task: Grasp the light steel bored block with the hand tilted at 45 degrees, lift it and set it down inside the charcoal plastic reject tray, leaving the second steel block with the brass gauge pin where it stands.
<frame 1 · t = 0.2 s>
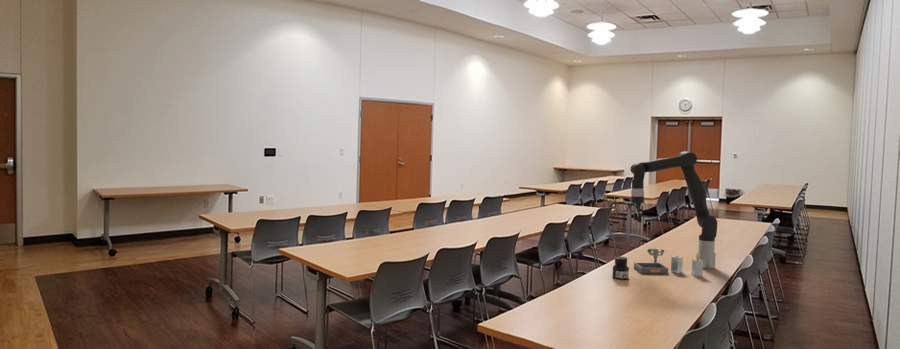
hand: (637, 221, 356), 29 cm above the table, tool pointing down, fingers open, 8 cm apart
reject tray: (650, 271, 346), on the table
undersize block: (676, 272, 344), on the table
mechanical component: (655, 265, 363), on the table
ink bottle: (620, 278, 328), on the table
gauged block: (697, 275, 336), on the table
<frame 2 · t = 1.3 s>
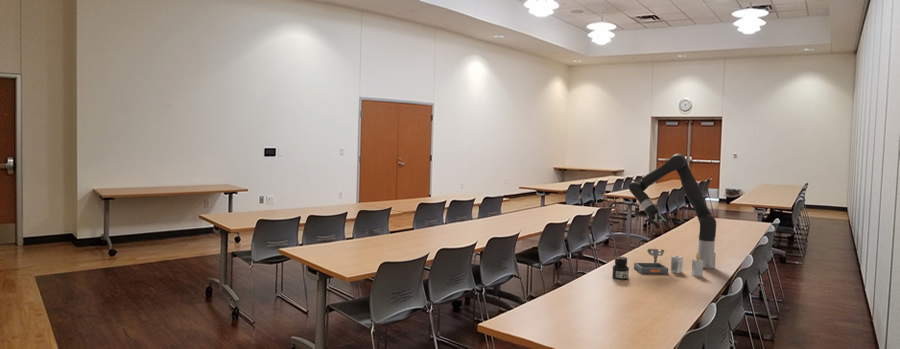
hand: (663, 227, 357), 25 cm above the table, tool tilted 45°, fingers open, 8 cm apart
nothing on the table moved.
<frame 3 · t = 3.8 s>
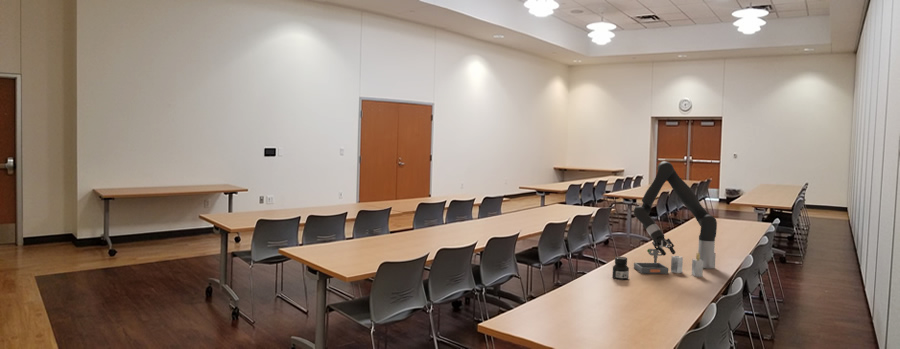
hand: (669, 254, 348), 10 cm above the table, tool tilted 45°, fingers open, 8 cm apart
nothing on the table moved.
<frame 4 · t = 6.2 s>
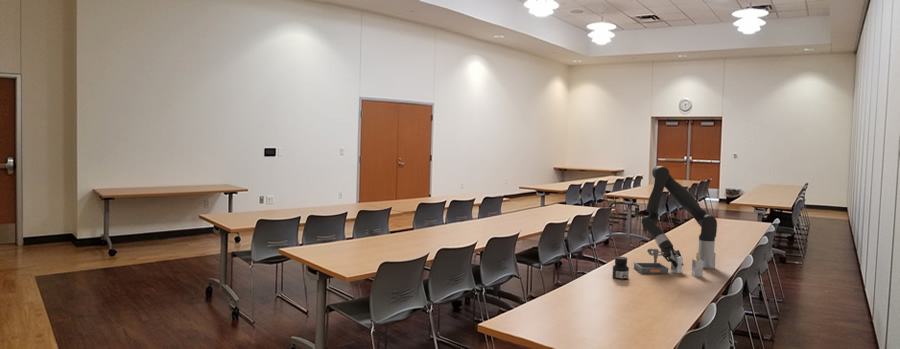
hand: (679, 266, 342), 4 cm above the table, tool tilted 45°, fingers closed on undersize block, 4 cm apart
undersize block: (676, 272, 344), on the table, touching gripper
everything else where it was.
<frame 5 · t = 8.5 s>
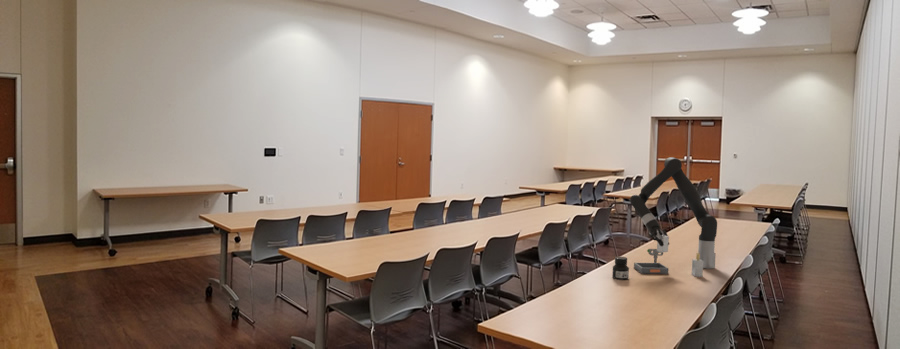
hand: (665, 245, 342), 17 cm above the table, tool tilted 45°, fingers closed on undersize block, 4 cm apart
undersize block: (662, 251, 344), point 12 cm above the table, touching gripper
everything else where it was.
when the fingers open (6 cm above the table, at t = 11.3 s): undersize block drops 1 cm, resting on reject tray.
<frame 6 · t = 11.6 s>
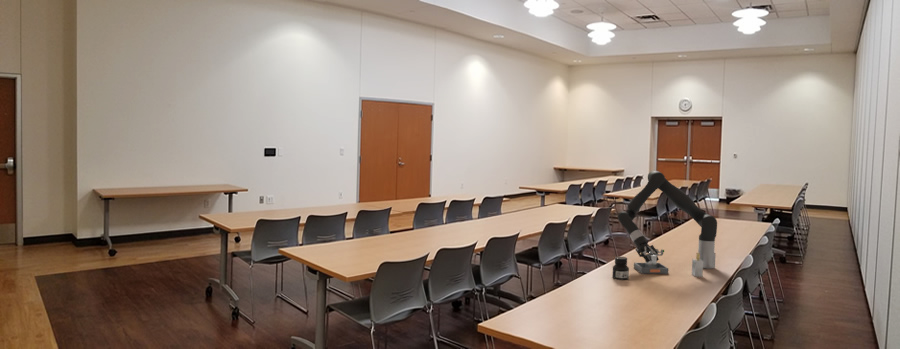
hand: (653, 261, 344), 7 cm above the table, tool tilted 45°, fingers open, 7 cm apart
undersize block: (650, 270, 346), resting on reject tray
everything else where it was.
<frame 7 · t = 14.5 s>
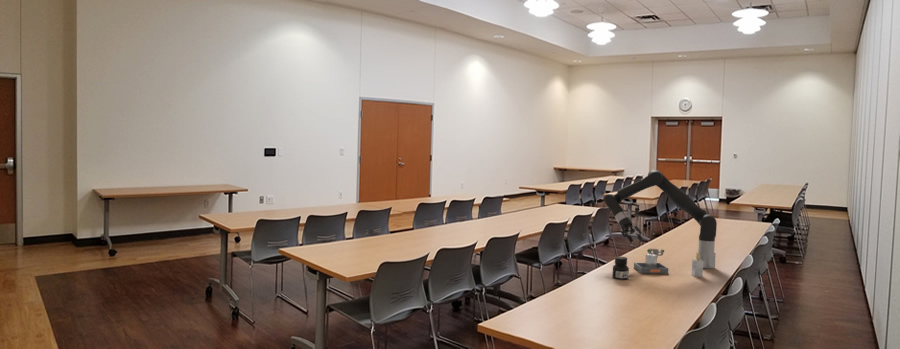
hand: (636, 241, 355), 17 cm above the table, tool tilted 45°, fingers open, 8 cm apart
nothing on the table moved.
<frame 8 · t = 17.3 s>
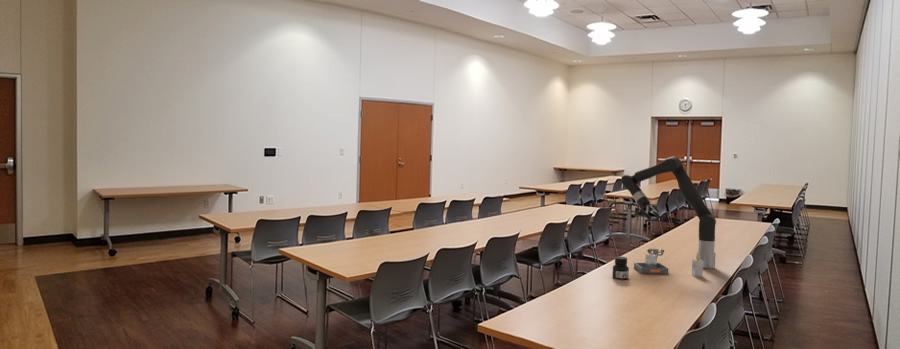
hand: (654, 218, 367), 29 cm above the table, tool tilted 45°, fingers open, 8 cm apart
nothing on the table moved.
at the end: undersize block inside the target area on the reject tray (0.1 cm from its centre), point 0.5 cm above the reject tray's base; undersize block tilted 0°; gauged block moved 0.0 cm from its start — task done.
